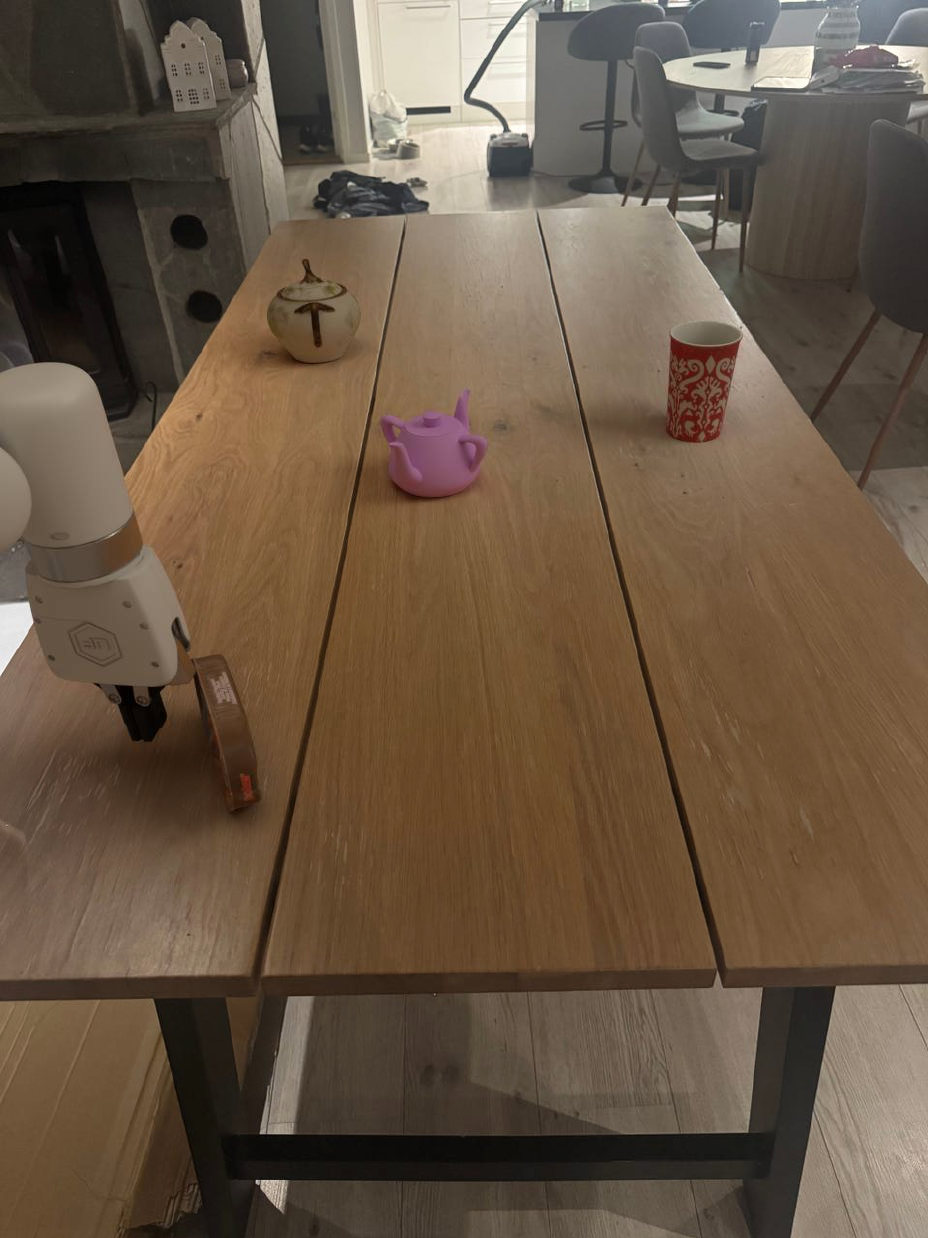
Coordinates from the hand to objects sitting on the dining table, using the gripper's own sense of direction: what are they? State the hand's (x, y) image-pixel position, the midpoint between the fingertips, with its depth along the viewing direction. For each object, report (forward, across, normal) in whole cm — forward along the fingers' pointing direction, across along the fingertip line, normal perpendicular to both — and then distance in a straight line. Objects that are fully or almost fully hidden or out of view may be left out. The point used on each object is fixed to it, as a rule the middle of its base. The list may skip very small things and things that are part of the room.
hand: (149, 729), depth 77 cm
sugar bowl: (+4, -12, +92) cm, 93 cm away
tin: (+3, +7, 0) cm, 8 cm away
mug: (+4, +47, +69) cm, 83 cm away
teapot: (+4, +15, +51) cm, 53 cm away
